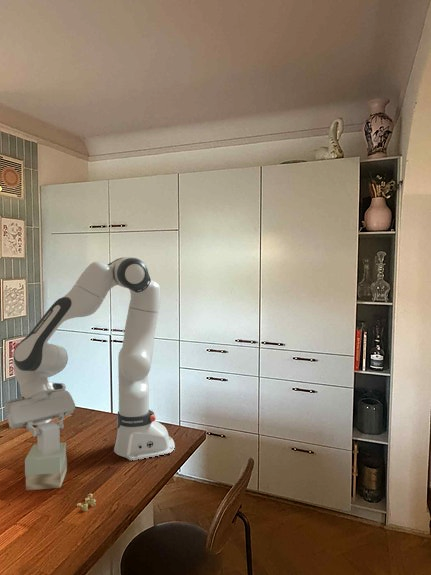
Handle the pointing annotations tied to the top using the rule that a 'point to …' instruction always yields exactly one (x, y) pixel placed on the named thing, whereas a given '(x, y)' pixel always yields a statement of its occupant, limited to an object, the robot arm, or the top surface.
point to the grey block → (48, 438)
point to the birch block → (46, 479)
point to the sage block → (44, 461)
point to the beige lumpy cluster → (87, 501)
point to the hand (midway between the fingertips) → (49, 432)
